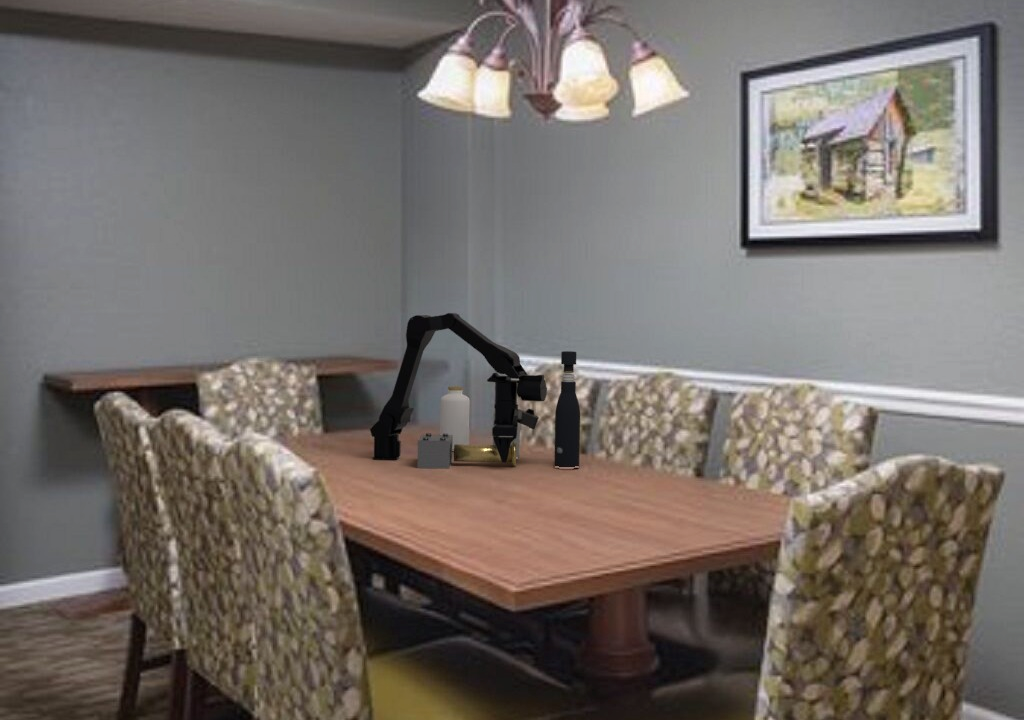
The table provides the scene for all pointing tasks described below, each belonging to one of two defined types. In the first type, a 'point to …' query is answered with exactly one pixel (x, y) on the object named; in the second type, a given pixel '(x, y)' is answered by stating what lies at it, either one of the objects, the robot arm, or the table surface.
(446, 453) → the housing
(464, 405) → the white bottle
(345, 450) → the table surface
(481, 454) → the brass cylinder
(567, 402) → the black water bottle
